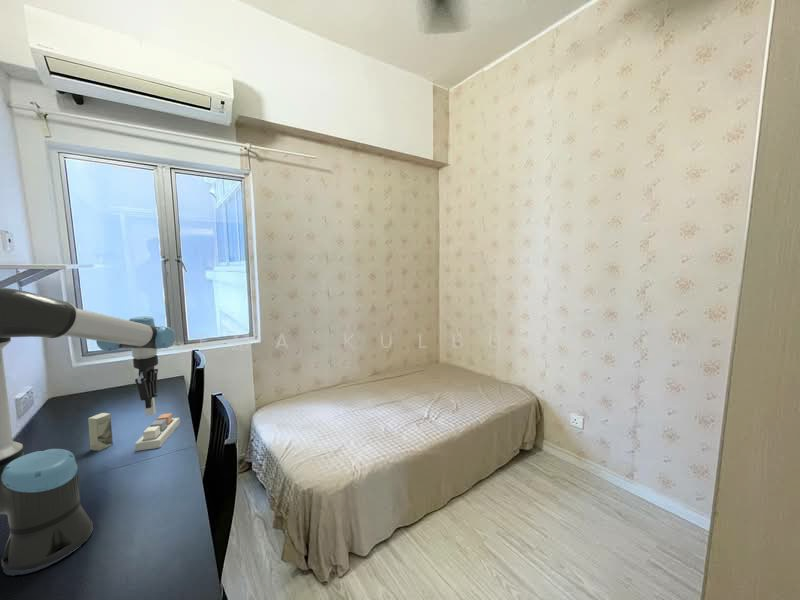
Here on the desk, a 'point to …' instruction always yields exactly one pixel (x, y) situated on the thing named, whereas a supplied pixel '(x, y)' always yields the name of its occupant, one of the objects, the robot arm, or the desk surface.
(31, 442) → the desk surface
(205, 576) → the desk surface
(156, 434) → the key ivory
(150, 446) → the keypad housing
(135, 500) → the desk surface
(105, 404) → the desk surface
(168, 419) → the key terracotta
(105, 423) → the box
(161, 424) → the key slate
